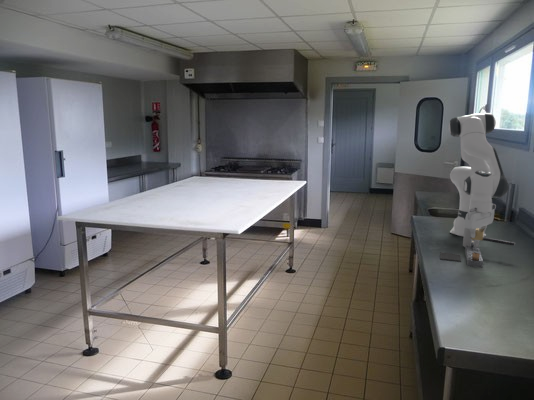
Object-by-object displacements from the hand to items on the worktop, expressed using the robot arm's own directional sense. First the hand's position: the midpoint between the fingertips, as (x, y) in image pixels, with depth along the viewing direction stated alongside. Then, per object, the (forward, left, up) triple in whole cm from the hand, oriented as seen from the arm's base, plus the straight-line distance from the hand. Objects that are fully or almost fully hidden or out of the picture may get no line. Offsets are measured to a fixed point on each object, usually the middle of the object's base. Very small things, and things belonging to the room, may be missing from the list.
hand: (477, 235), depth 193 cm
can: (-22, -1, -12) cm, 26 cm away
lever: (-11, +7, -5) cm, 14 cm away
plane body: (-2, -1, -12) cm, 12 cm away
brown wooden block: (0, 0, -1) cm, 1 cm away
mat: (0, -11, -12) cm, 16 cm away
